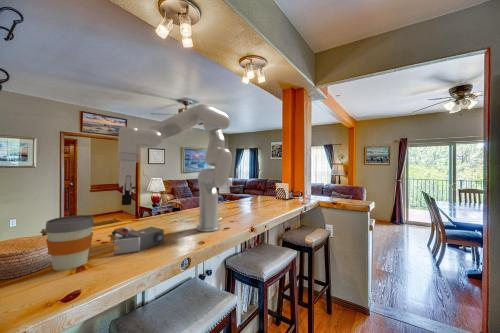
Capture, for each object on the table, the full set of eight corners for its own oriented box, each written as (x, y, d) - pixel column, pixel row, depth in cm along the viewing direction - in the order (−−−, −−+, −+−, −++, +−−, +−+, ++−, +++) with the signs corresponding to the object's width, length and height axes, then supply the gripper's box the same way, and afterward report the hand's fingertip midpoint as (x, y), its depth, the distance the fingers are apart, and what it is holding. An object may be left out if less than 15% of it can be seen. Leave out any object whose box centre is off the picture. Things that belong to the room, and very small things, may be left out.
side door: (114, 253, 81) (114, 239, 81) (140, 250, 85) (140, 237, 85) (113, 255, 80) (113, 240, 80) (139, 251, 83) (139, 238, 83)
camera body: (151, 238, 98) (151, 225, 98) (166, 242, 94) (166, 228, 93) (127, 247, 88) (127, 232, 88) (142, 251, 84) (142, 235, 84)
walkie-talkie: (106, 236, 102) (125, 246, 90) (106, 227, 102) (126, 235, 90) (126, 232, 109) (146, 240, 97) (126, 223, 109) (146, 230, 97)
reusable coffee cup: (84, 270, 69) (84, 222, 69) (35, 275, 65) (35, 225, 65) (99, 254, 81) (99, 214, 81) (58, 258, 77) (58, 216, 77)
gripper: (117, 158, 91) (115, 202, 90) (117, 157, 78) (115, 208, 78) (137, 159, 95) (135, 201, 94) (140, 158, 82) (138, 207, 82)
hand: (126, 204), depth 86 cm, fingers closed
